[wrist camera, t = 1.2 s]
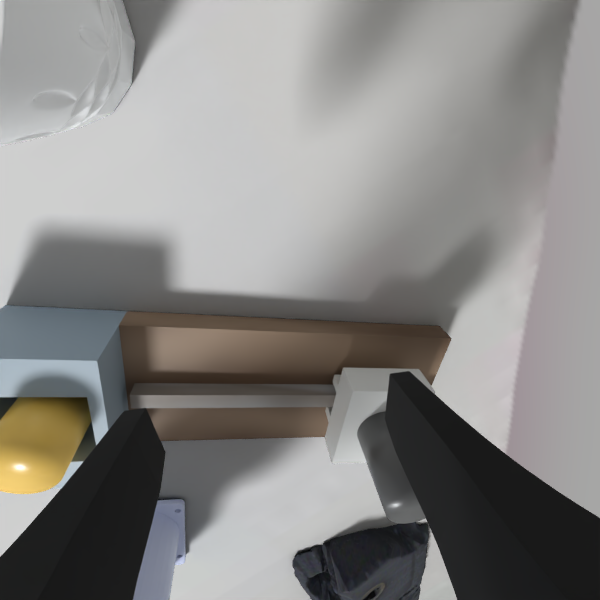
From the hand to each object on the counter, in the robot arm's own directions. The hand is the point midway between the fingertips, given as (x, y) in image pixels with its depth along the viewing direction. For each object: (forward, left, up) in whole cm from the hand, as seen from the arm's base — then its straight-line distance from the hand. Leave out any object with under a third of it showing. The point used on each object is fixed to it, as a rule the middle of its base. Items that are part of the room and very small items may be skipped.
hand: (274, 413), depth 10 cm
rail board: (-7, -3, -10) cm, 13 cm away
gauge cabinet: (-7, +10, -10) cm, 16 cm away
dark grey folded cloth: (-38, -16, -11) cm, 43 cm away
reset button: (-7, +10, -8) cm, 15 cm away
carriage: (-7, -8, -9) cm, 14 cm away
